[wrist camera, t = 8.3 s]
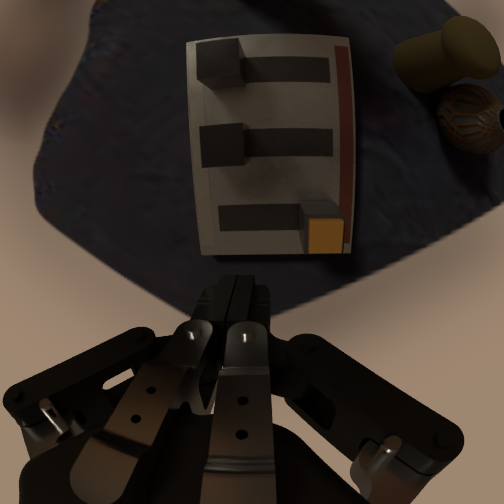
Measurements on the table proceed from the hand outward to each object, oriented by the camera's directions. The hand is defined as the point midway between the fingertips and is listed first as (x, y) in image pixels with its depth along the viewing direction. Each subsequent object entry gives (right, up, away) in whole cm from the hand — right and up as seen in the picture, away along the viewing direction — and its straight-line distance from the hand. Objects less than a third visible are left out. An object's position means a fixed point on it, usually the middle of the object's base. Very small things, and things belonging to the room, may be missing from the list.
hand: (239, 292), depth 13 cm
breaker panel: (+2, +12, +11) cm, 16 cm away
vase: (+21, +16, +8) cm, 28 cm away
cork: (+17, +20, +6) cm, 27 cm away
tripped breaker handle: (+6, +5, +11) cm, 13 cm away
